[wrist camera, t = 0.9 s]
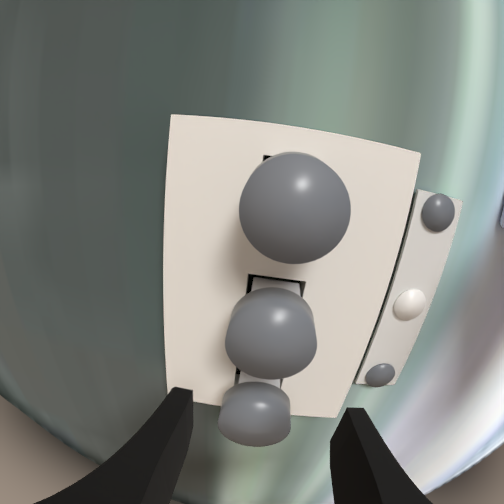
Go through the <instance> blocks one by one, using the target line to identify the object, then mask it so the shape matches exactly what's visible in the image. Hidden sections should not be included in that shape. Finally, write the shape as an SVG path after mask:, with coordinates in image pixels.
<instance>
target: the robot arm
mask: <svg viewBox="0 0 504 504" xmlns="http://www.w3.org/2000/svg"><path fill="white" fill-rule="evenodd" d="M500 225H501V227H502V228H503V229H504V208H503V212H502V216H501V219H500ZM192 429H193V390H190V389H185V388H180V387H173V388H172V389H171V390H170V392H169V394H168V395H167V396H166V398H165V399H164V401H163V402H162V403H161V405H160V406H159V407H158V408H157V410H156V411H155V412H154V413H153V415H152V416H151V417H150V418H149V419H148V420H147V422H146V423H145V424H144V425H143V426H142V427H141V428H140V429H139V431H138V432H137V433H136V434H135V435H134V436H133V437H132V438H131V439H130V440H129V441H128V442H127V443H126V444H125V445H124V446H123V447H122V448H120V449H119V450H118V451H117V452H116V453H115V454H114V455H113V456H111V457H110V458H109V459H108V460H107V461H105V462H104V463H103V464H102V465H100V466H99V467H98V468H96V469H95V470H94V471H92V472H91V473H89V474H88V475H87V476H85V477H84V478H82V479H81V480H79V481H78V482H76V483H74V484H73V485H71V486H69V487H67V488H65V489H64V490H62V491H60V492H58V493H56V494H55V495H52V496H50V497H48V498H46V499H44V500H41V501H39V502H36V503H34V504H169V503H170V500H171V497H172V494H173V491H174V488H175V485H176V483H177V480H178V477H179V474H180V471H181V468H182V466H183V463H184V460H185V457H186V454H187V451H188V447H189V442H190V438H191V433H192ZM330 470H331V478H332V487H333V495H334V503H335V504H432V503H431V502H430V501H429V500H428V499H427V498H426V497H425V495H424V494H423V493H422V492H421V491H420V490H419V489H418V488H417V486H416V485H415V484H414V483H413V482H412V480H411V479H410V478H409V477H408V475H407V474H406V473H405V471H404V470H403V469H402V467H401V466H400V465H399V463H398V462H397V460H396V459H395V457H394V456H393V454H392V453H391V451H390V450H389V448H388V447H387V445H386V444H385V442H384V441H383V439H382V437H381V436H380V434H379V432H378V431H377V429H376V428H375V426H374V424H373V423H372V421H371V419H370V417H369V416H368V414H367V412H366V411H365V409H364V408H346V411H345V413H344V415H343V417H342V419H341V421H340V423H339V425H338V427H337V429H336V431H335V433H334V435H333V436H332V438H331V440H330Z"/></svg>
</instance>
